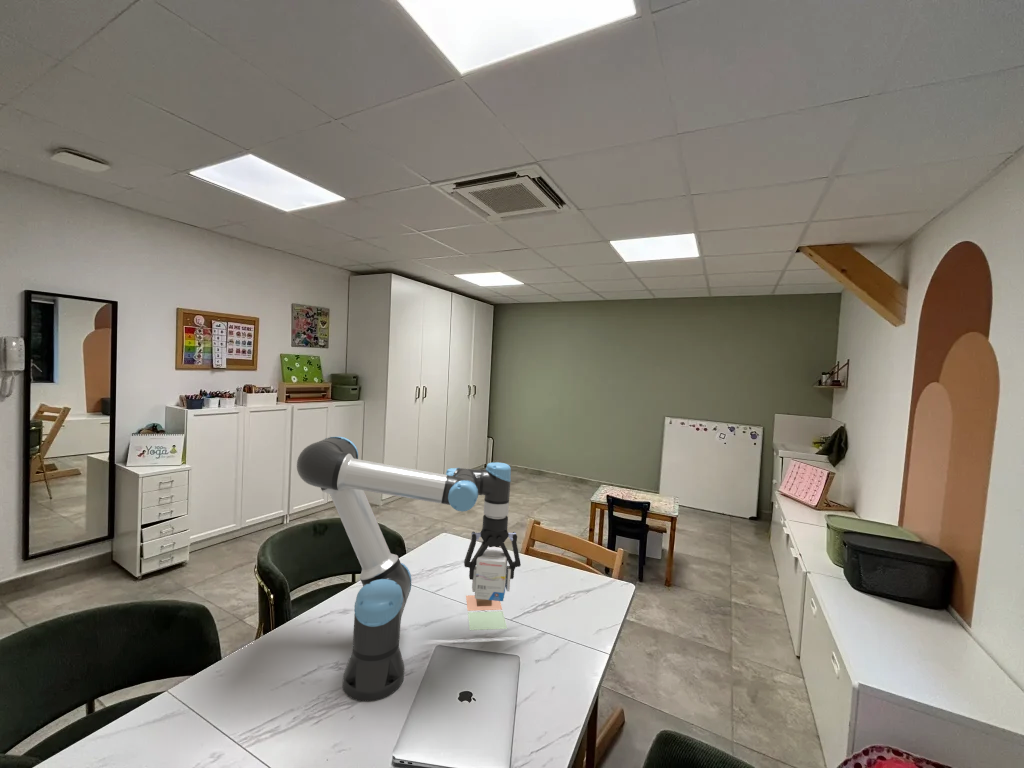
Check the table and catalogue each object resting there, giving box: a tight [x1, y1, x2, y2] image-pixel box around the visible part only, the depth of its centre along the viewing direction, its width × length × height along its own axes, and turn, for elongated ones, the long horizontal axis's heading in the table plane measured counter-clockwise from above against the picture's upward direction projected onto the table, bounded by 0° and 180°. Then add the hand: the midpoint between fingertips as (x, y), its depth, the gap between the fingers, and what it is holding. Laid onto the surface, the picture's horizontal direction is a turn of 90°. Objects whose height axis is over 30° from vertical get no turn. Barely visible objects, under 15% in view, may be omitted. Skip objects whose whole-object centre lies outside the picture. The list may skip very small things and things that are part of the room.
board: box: [465, 594, 508, 631], centre depth 139 cm, size 22×14×1 cm, turn 10°
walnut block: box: [476, 599, 492, 606], centre depth 144 cm, size 5×5×5 cm
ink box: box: [474, 548, 508, 602], centre depth 122 cm, size 9×8×12 cm
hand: (490, 589), depth 122 cm, fingers closed on ink box, 10 cm apart
